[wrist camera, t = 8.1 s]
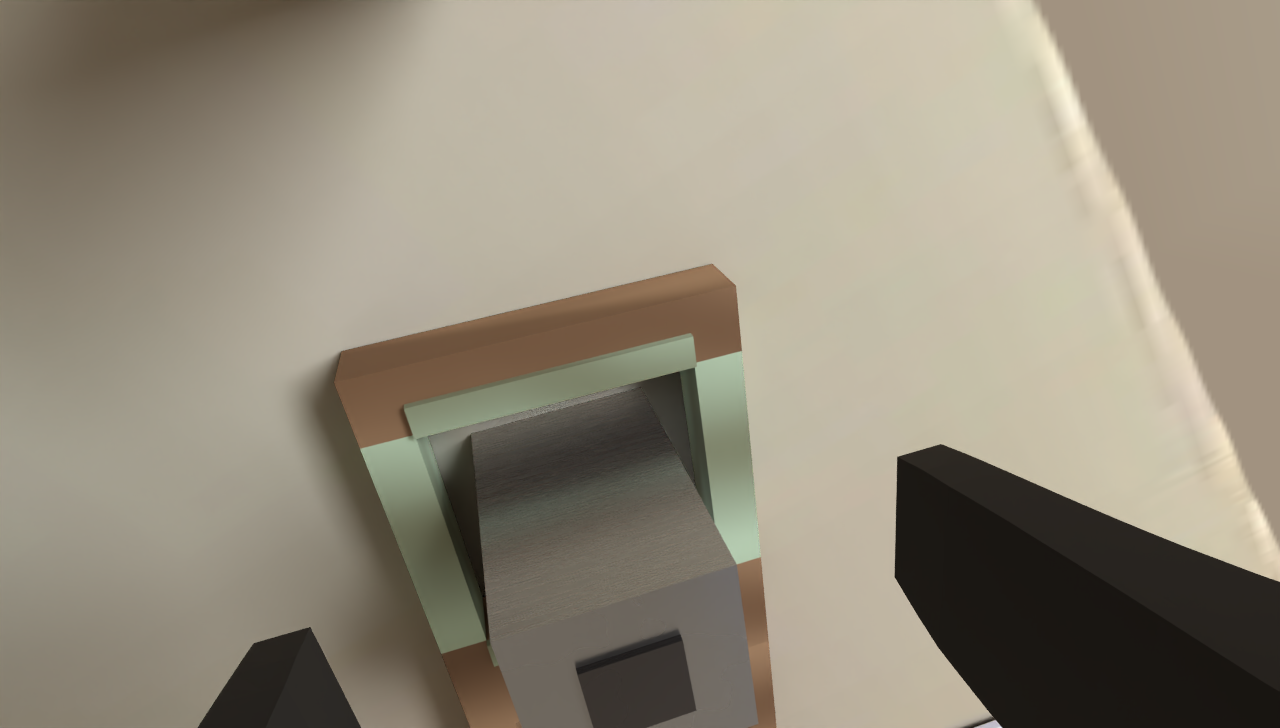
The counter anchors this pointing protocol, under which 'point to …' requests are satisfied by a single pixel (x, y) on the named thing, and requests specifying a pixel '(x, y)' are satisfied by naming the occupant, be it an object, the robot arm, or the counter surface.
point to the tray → (535, 377)
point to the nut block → (607, 575)
